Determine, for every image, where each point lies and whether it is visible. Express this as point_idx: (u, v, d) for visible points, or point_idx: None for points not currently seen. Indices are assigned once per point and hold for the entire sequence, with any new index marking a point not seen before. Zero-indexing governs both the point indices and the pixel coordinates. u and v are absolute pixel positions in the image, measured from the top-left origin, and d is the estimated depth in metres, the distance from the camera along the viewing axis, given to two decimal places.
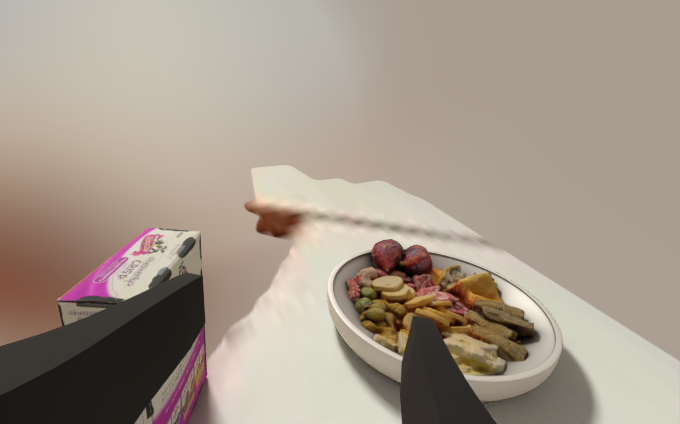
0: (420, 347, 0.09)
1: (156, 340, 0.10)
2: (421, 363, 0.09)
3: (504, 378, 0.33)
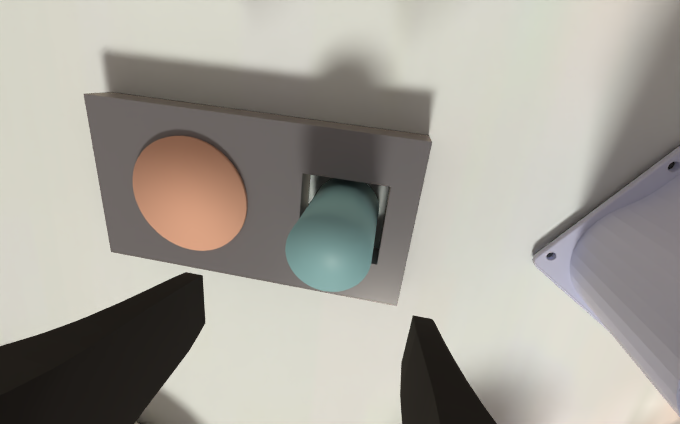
0: (420, 347, 0.09)
1: (156, 340, 0.10)
2: (421, 363, 0.09)
3: None
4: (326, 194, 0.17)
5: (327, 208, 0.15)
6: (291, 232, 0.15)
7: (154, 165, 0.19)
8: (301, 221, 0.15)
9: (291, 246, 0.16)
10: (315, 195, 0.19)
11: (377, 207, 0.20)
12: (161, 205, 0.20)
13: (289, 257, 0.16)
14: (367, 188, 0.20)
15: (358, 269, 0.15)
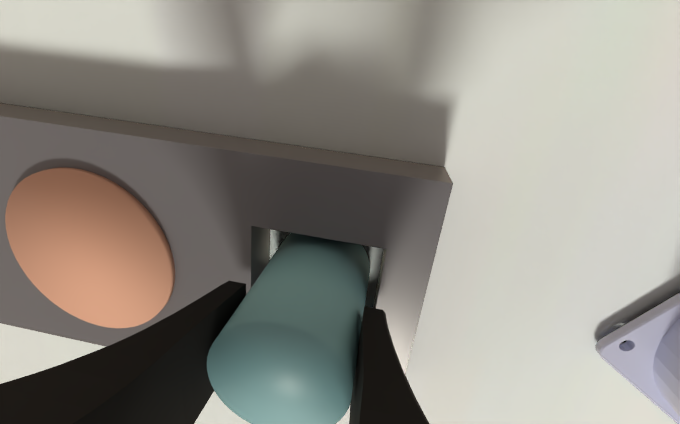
0: (362, 335, 0.09)
1: (207, 351, 0.09)
2: (361, 351, 0.09)
3: None
4: (284, 264, 0.11)
5: (276, 303, 0.09)
6: (214, 346, 0.09)
7: (33, 210, 0.13)
8: (229, 330, 0.09)
9: (216, 365, 0.09)
10: (273, 257, 0.13)
11: (367, 271, 0.13)
12: (51, 266, 0.14)
13: (215, 381, 0.09)
14: (351, 244, 0.13)
15: (330, 407, 0.09)
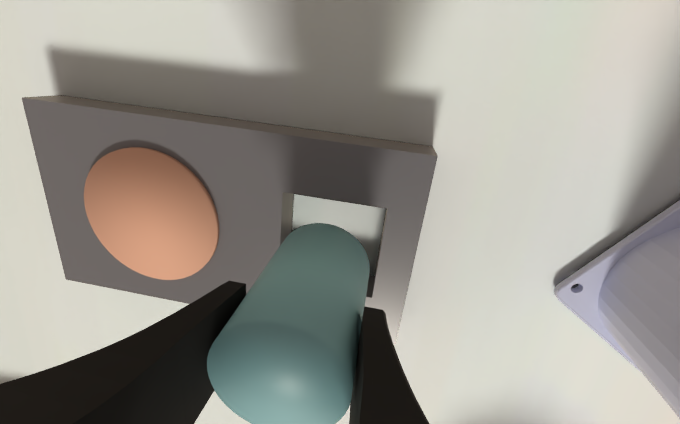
0: (362, 335, 0.09)
1: (207, 351, 0.09)
2: (361, 351, 0.09)
3: None
4: (284, 264, 0.11)
5: (276, 303, 0.09)
6: (214, 345, 0.09)
7: (108, 181, 0.16)
8: (229, 329, 0.09)
9: (217, 365, 0.09)
10: (273, 256, 0.13)
11: (367, 271, 0.13)
12: (118, 228, 0.17)
13: (215, 381, 0.09)
14: (351, 244, 0.13)
15: (329, 406, 0.09)
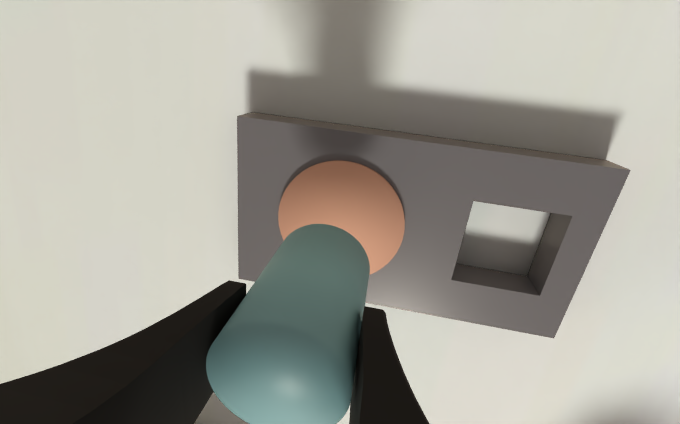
0: (362, 335, 0.09)
1: (207, 351, 0.09)
2: (361, 351, 0.09)
3: None
4: (284, 264, 0.11)
5: (275, 303, 0.09)
6: (213, 346, 0.09)
7: (307, 191, 0.18)
8: (228, 330, 0.09)
9: (215, 366, 0.09)
10: (272, 257, 0.13)
11: (367, 272, 0.13)
12: None
13: (214, 382, 0.09)
14: (351, 245, 0.13)
15: (329, 408, 0.09)
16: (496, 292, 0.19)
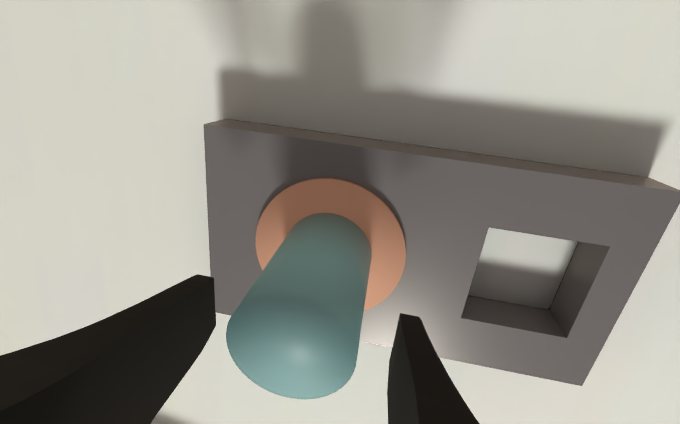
0: (405, 344, 0.09)
1: (169, 344, 0.09)
2: (405, 360, 0.09)
3: None
4: (294, 247, 0.12)
5: (288, 278, 0.10)
6: (233, 317, 0.10)
7: (289, 213, 0.15)
8: (247, 302, 0.10)
9: (235, 335, 0.10)
10: (282, 242, 0.14)
11: (369, 257, 0.14)
12: None
13: (233, 350, 0.10)
14: (355, 231, 0.14)
15: (336, 372, 0.10)
16: (514, 333, 0.16)
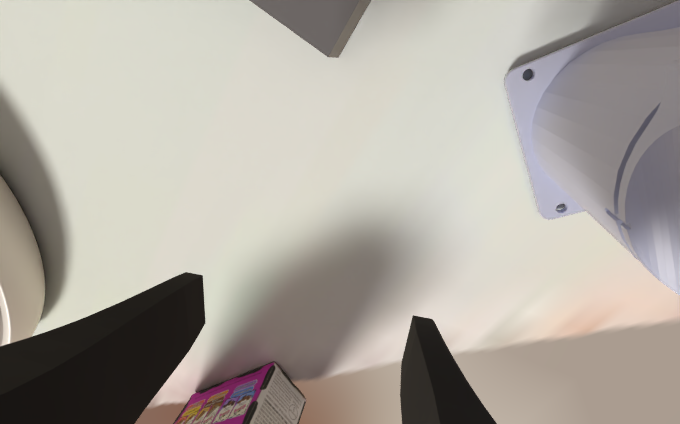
0: (420, 347, 0.09)
1: (156, 340, 0.10)
2: (421, 363, 0.09)
3: None
4: None
5: None
6: None
7: None
8: None
9: None
10: None
11: None
12: None
13: None
14: None
15: None
16: None
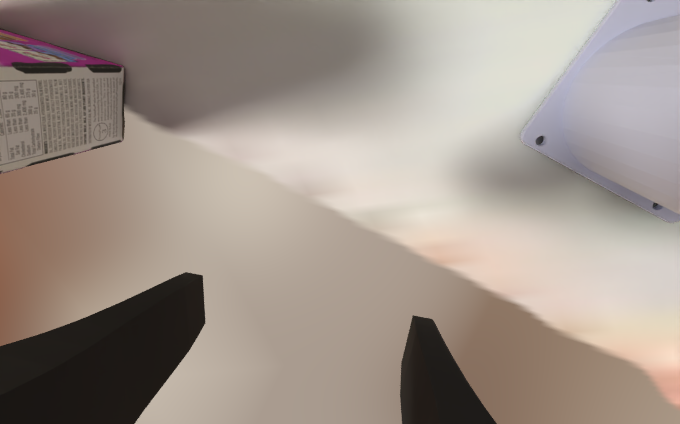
0: (420, 347, 0.09)
1: (156, 340, 0.10)
2: (421, 363, 0.09)
3: None
4: None
5: None
6: None
7: None
8: None
9: None
10: None
11: None
12: None
13: None
14: None
15: None
16: None
